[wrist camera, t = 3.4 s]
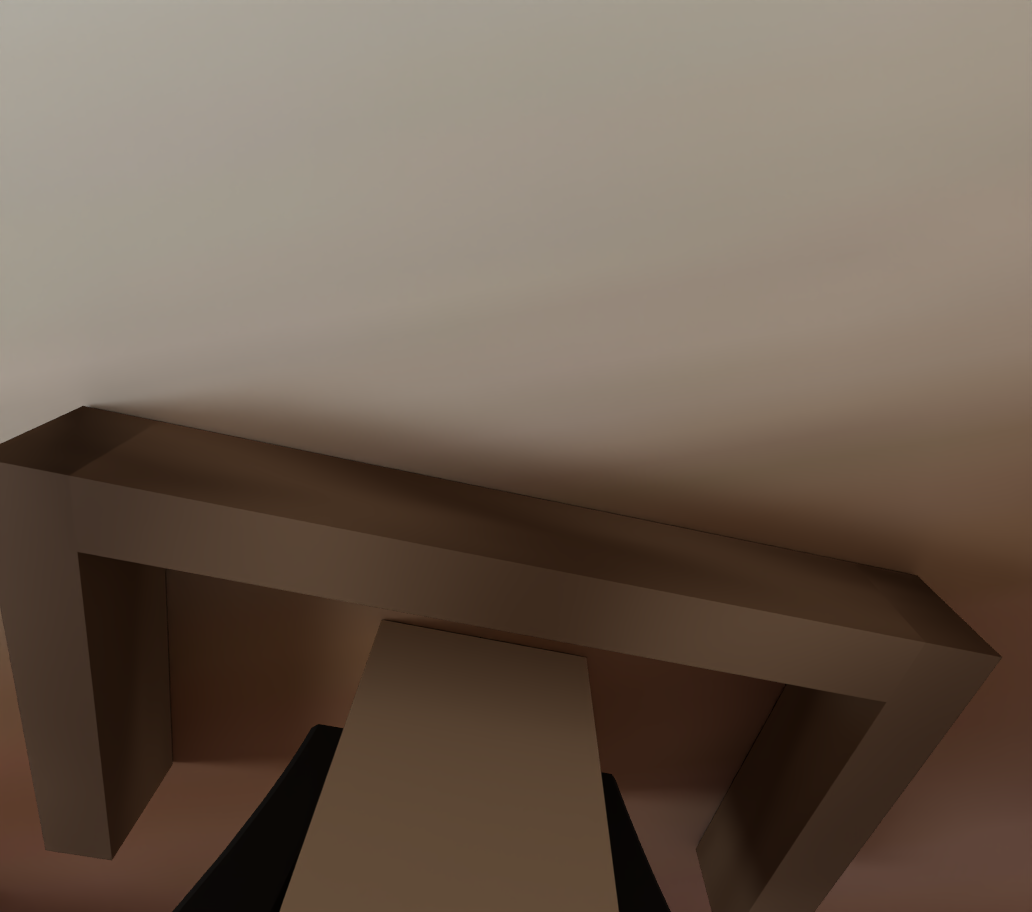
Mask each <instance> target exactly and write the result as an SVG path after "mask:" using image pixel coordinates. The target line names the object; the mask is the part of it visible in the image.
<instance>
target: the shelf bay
mask: <svg viewBox="0 0 1032 912" xmlns="http://www.w3.org/2000/svg"><path fill="white" fill-rule="evenodd" d="M165 568H167V569H172V570H178V571H183V572H188V573H194V574H199V575H205V576H210V577H215V578H221V579H226V580H231V581H237V582H242V583H248V584H253V585H258V586H264V587H269V588H274V589H280V590H285V591H291V592H296V593H301V594H307V595H312V596H317V597H323V598H328V599H334V600H339V601H344V602H350V603H355V604H360V605H366V606H371V607H377V608H382V609H387V610H393V611H398V612H403V613H409V614H414V615H420V616H425V617H430V618H436V619H441V620H446V621H452V622H457V623H463V624H468V625H473V626H479V627H484V628H489V629H495V630H500V631H506V632H511V633H516V634H522V635H527V636H532V637H538V638H543V639H549V640H554V641H559V642H565V643H570V644H575V645H581V646H586V647H592V648H597V649H602V650H608V651H613V652H618V653H624V654H629V655H635V656H640V657H645V658H651V659H656V660H661V661H667V662H672V663H678V664H683V665H688V666H694V667H699V668H704V669H710V670H715V671H721V672H726V673H731V674H737V675H742V676H747V677H753V678H758V679H764V680H769V681H774V682H780V683H785V684H787V685H786V687H785V689H784V690H783V692H782V694H781V696H780V698H779V699H778V701H777V703H776V705H775V707H774V709H773V710H772V712H771V714H770V716H769V718H768V719H767V721H766V723H765V725H764V727H763V728H762V730H761V732H760V734H759V736H758V738H757V739H756V741H755V743H754V745H753V747H752V748H751V750H750V752H749V754H748V756H747V757H746V759H745V761H744V763H743V765H742V767H741V768H740V770H739V772H738V774H737V776H736V777H735V779H734V781H733V783H732V785H731V787H730V788H729V790H728V792H727V794H726V796H725V797H724V799H723V801H722V803H721V805H720V806H719V808H718V810H717V812H716V814H715V816H714V817H713V819H712V821H711V823H710V825H709V826H708V828H707V830H706V832H705V834H704V835H703V837H702V839H701V841H700V843H699V845H698V846H697V848H696V852H697V856H698V860H699V864H700V868H701V871H702V875H703V879H704V883H705V887H706V891H707V895H708V898H709V902H710V906H711V910H712V912H815V910H816V909H817V908H818V906H819V905H820V904H821V902H822V901H823V899H824V898H825V897H826V895H827V894H828V893H829V891H830V890H831V889H832V887H833V886H834V885H835V883H836V882H837V880H838V879H839V878H840V876H841V875H842V874H843V872H844V871H845V870H846V868H847V867H848V866H849V864H850V863H851V862H852V860H853V859H854V857H855V856H856V855H857V853H858V852H859V851H860V849H861V848H862V847H863V845H864V844H865V843H866V841H867V840H868V839H869V837H870V836H871V834H872V833H873V832H874V830H875V829H876V828H877V826H878V825H879V824H880V822H881V821H882V820H883V818H884V817H885V815H886V814H887V813H888V811H889V810H890V809H891V807H892V806H893V805H894V803H895V802H896V801H897V799H898V798H899V797H900V795H901V794H902V792H903V791H904V790H905V788H906V787H907V786H908V784H909V783H910V782H911V780H912V779H913V778H914V776H915V775H916V773H917V772H918V771H919V769H920V768H921V767H922V765H923V764H924V763H925V761H926V760H927V759H928V757H929V756H930V755H931V753H932V752H933V750H934V749H935V748H936V746H937V745H938V744H939V742H940V741H941V740H942V738H943V737H944V736H945V734H946V733H947V732H948V730H949V729H950V727H951V726H952V725H953V723H954V722H955V721H956V719H957V718H958V717H959V715H960V714H961V713H962V711H963V710H964V708H965V707H966V706H967V704H968V703H969V702H970V700H971V699H972V698H973V696H974V695H975V694H976V692H977V691H978V690H979V688H980V687H981V685H982V684H983V683H984V681H985V680H986V679H987V677H988V676H989V675H990V673H991V672H992V671H993V669H994V668H995V666H996V665H997V664H998V662H999V661H1000V660H1001V658H1002V657H1001V656H1000V655H999V654H998V653H997V652H996V651H995V650H994V649H993V648H992V647H991V646H990V645H989V644H988V643H987V642H985V641H984V640H983V639H982V638H981V637H980V636H979V635H978V634H977V633H976V632H975V631H974V630H973V629H972V628H971V627H970V626H969V625H968V624H967V623H966V622H965V621H964V620H963V619H962V618H961V617H959V616H958V615H957V614H956V613H955V612H954V611H953V610H952V609H951V608H950V607H949V606H948V605H947V604H946V603H945V602H944V601H943V600H942V599H941V598H940V597H939V596H938V595H937V594H936V593H935V592H933V591H932V590H931V589H930V588H929V587H928V586H927V585H926V584H925V583H924V582H923V581H922V580H921V579H920V578H919V577H918V576H916V575H911V574H906V573H901V572H896V571H892V570H887V569H882V568H877V567H872V566H867V565H862V564H857V563H852V562H847V561H842V560H838V559H833V558H828V557H823V556H818V555H813V554H808V553H803V552H798V551H793V550H788V549H783V548H779V547H774V546H769V545H764V544H759V543H754V542H749V541H744V540H739V539H734V538H729V537H724V536H720V535H715V534H710V533H705V532H700V531H695V530H690V529H685V528H680V527H675V526H670V525H666V524H661V523H656V522H651V521H646V520H641V519H636V518H631V517H626V516H621V515H616V514H611V513H607V512H602V511H597V510H592V509H587V508H582V507H577V506H572V505H567V504H562V503H557V502H552V501H548V500H543V499H538V498H533V497H528V496H523V495H518V494H513V493H508V492H503V491H498V490H494V489H489V488H484V487H479V486H474V485H469V484H464V483H459V482H454V481H449V480H444V479H439V478H435V477H430V476H425V475H420V474H415V473H410V472H405V471H400V470H395V469H390V468H385V467H381V466H376V465H371V464H366V463H361V462H356V461H351V460H346V459H341V458H336V457H331V456H326V455H322V454H317V453H312V452H307V451H302V450H297V449H292V448H287V447H282V446H277V445H272V444H267V443H263V442H258V441H253V440H248V439H243V438H238V437H233V436H228V435H223V434H218V433H213V432H209V431H204V430H199V429H194V428H189V427H184V426H179V425H174V424H169V423H164V422H159V421H154V420H150V419H145V418H140V417H135V416H130V415H125V414H120V413H115V412H110V411H105V410H100V409H95V408H91V407H86V406H82V407H80V408H78V409H75V410H73V411H71V412H69V413H67V414H65V415H62V416H60V417H58V418H56V419H54V420H51V421H49V422H47V423H45V424H43V425H41V426H38V427H36V428H34V429H32V430H30V431H27V432H25V433H23V434H21V435H19V436H17V437H14V438H12V439H10V440H8V441H6V442H4V443H1V444H0V608H1V613H2V619H3V624H4V629H5V635H6V640H7V646H8V651H9V656H10V662H11V667H12V672H13V678H14V683H15V689H16V694H17V699H18V705H19V710H20V715H21V721H22V726H23V732H24V737H25V742H26V748H27V753H28V758H29V764H30V769H31V775H32V780H33V785H34V791H35V796H36V801H37V807H38V812H39V818H40V823H41V828H42V834H43V839H44V844H45V850H47V851H54V852H60V853H67V854H74V855H80V856H87V857H94V858H100V859H107V860H112V859H113V858H114V856H115V855H116V853H117V851H118V850H119V848H120V847H121V845H122V844H123V842H124V840H125V839H126V837H127V836H128V834H129V832H130V831H131V829H132V828H133V826H134V825H135V823H136V821H137V820H138V818H139V817H140V815H141V813H142V812H143V810H144V809H145V807H146V806H147V804H148V802H149V801H150V799H151V798H152V796H153V794H154V793H155V791H156V790H157V788H158V787H159V785H160V783H161V782H162V780H163V779H164V777H165V775H166V774H167V772H168V771H169V769H170V768H171V766H172V764H173V763H172V737H171V710H170V684H169V658H168V632H167V605H166V579H165Z"/></svg>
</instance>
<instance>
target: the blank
mask: <svg viewBox="0 0 1032 912" xmlns="http://www.w3.org/2000/svg"><path fill="white" fill-rule="evenodd" d="M280 912H619V909H618V901H617V893H616V885H615V877H614V870H613V862H612V854H611V846H610V838H609V831H608V823H607V815H606V807H605V799H604V792H603V784H602V776H601V768H600V760H599V752H598V745H597V737H596V729H595V721H594V713H593V706H592V698H591V690H590V682H589V674H588V667H587V659H586V657H581V656H575V655H570V654H565V653H559V652H554V651H548V650H543V649H537V648H532V647H527V646H521V645H516V644H510V643H505V642H500V641H494V640H489V639H483V638H478V637H473V636H467V635H462V634H456V633H451V632H445V631H440V630H435V629H429V628H424V627H418V626H413V625H408V624H402V623H397V622H391V621H386V620H381V623H380V626H379V629H378V632H377V635H376V637H375V640H374V643H373V646H372V649H371V652H370V655H369V657H368V660H367V663H366V666H365V669H364V672H363V675H362V677H361V680H360V683H359V686H358V689H357V692H356V695H355V697H354V700H353V703H352V706H351V709H350V712H349V715H348V717H347V720H346V723H345V726H344V729H343V732H342V735H341V737H340V740H339V743H338V746H337V749H336V752H335V755H334V757H333V760H332V763H331V766H330V769H329V772H328V775H327V777H326V780H325V783H324V786H323V789H322V792H321V795H320V797H319V800H318V803H317V806H316V809H315V812H314V815H313V817H312V820H311V823H310V826H309V829H308V832H307V835H306V837H305V840H304V843H303V846H302V849H301V852H300V855H299V857H298V860H297V863H296V866H295V869H294V872H293V875H292V877H291V880H290V883H289V886H288V889H287V892H286V895H285V897H284V900H283V903H282V906H281V909H280Z"/></svg>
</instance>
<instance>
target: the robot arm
mask: <svg viewBox="0 0 1032 912" xmlns="http://www.w3.org/2000/svg"><path fill="white" fill-rule="evenodd" d="M343 729H344V728H338V727H332V726H326V725H321V724H318V725H316V726H314V727H312V728H311V730H310V731H309V733H308V735H307V736H306V738H305V740H304V741H303V743H302V745H301V746H300V748H299V749H298V751H297V752H296V754H295V756H294V757H293V759H292V760H291V762H290V763H289V765H288V766H287V767H286V769H285V770H284V772H283V773H282V775H281V776H280V778H279V779H278V780H277V782H276V783H275V785H274V786H273V787H272V789H271V790H270V791H269V793H268V794H267V796H266V797H265V798H264V800H263V801H262V802H261V804H260V805H259V806H258V808H257V809H256V810H255V811H254V813H253V814H252V815H251V817H250V818H249V819H248V820H247V822H246V823H245V824H244V826H243V827H242V828H241V830H240V831H239V832H238V833H237V835H236V836H235V837H234V839H233V840H232V841H231V842H230V844H229V845H228V846H227V847H226V849H225V850H224V851H223V852H222V854H221V855H220V856H219V857H218V859H217V860H216V861H215V862H214V863H213V864H212V866H211V867H210V868H209V869H208V870H207V872H206V873H205V874H204V875H203V876H202V877H201V879H200V880H199V881H198V882H197V883H196V884H195V886H194V887H193V888H192V889H191V890H190V892H189V893H188V894H187V895H186V896H185V897H184V899H183V900H182V901H181V902H180V903H179V905H178V906H177V907H176V908H175V909H174V910H173V912H280V909H281V906H282V903H283V900H284V897H285V895H286V892H287V889H288V886H289V883H290V880H291V877H292V875H293V872H294V869H295V866H296V863H297V860H298V857H299V855H300V852H301V849H302V846H303V843H304V840H305V837H306V835H307V832H308V829H309V826H310V823H311V820H312V817H313V815H314V812H315V809H316V806H317V803H318V800H319V797H320V795H321V792H322V789H323V786H324V783H325V780H326V777H327V775H328V772H329V769H330V766H331V763H332V760H333V757H334V755H335V752H336V749H337V746H338V743H339V740H340V737H341V735H342V732H343ZM601 776H602V784H603V792H604V799H605V807H606V815H607V823H608V831H609V838H610V846H611V854H612V862H613V870H614V877H615V885H616V893H617V901H618V909H619V912H671V911H670V909H669V907H668V905H667V903H666V900H665V898H664V896H663V894H662V892H661V890H660V887H659V885H658V883H657V881H656V878H655V876H654V874H653V872H652V869H651V867H650V865H649V862H648V860H647V858H646V855H645V853H644V851H643V848H642V846H641V843H640V841H639V839H638V836H637V834H636V831H635V829H634V826H633V824H632V821H631V819H630V816H629V814H628V811H627V809H626V806H625V804H624V801H623V798H622V796H621V793H620V791H619V788H618V785H617V783H616V780H615V778H614V777H613V776H612V774H608V773H602V772H601Z"/></svg>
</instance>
